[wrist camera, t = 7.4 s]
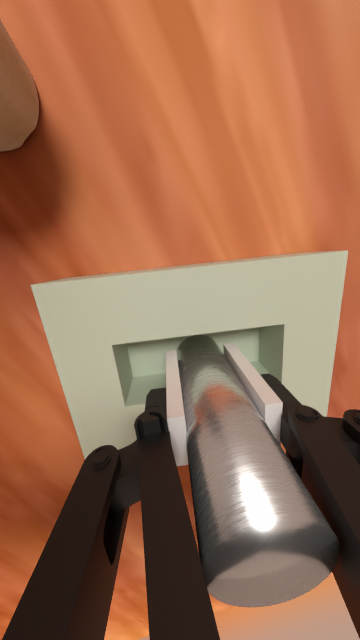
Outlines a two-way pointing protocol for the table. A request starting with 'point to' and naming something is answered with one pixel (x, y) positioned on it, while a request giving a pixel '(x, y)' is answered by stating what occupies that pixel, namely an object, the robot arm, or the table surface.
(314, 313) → the slot block
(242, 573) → the pin
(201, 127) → the table surface
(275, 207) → the table surface
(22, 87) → the flower pot
